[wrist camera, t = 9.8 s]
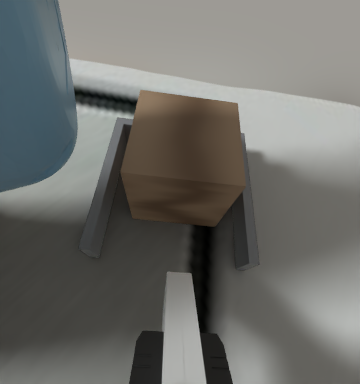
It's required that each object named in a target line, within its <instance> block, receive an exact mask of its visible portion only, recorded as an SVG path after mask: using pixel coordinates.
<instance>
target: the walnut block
mask: <svg viewBox="0 0 360 384" xmlns="http://www.w3.org/2000/svg"><path fill="white" fill-rule="evenodd" d="M120 173H121V177H122V181H123V185H124V188H125V192H126V196H127V200H128V204H129V207H130V211H131V215H132V219H142V220H152V221H162V222H172V223H182V224H192V225H202V226H212V227H215V226H216V225H217V224H218V222H219V221H220V220H221V218H222V217H223V216H224V214H225V213H226V212H227V211H228V209H229V208H230V207H231V205H232V204H233V203H234V201H235V200H236V199H237V198H238V196H239V195H240V194H241V192H242V191H243V190H244V189H245V187H246V181H245V171H244V161H243V151H242V141H241V132H240V122H239V112H238V103H232V102H225V101H218V100H210V99H203V98H196V97H188V96H181V95H174V94H167V93H159V92H152V91H145V90H140V94H139V98H138V103H137V107H136V111H135V115H134V119H133V123H132V127H131V131H130V135H129V139H128V143H127V147H126V151H125V155H124V159H123V163H122V167H121V171H120Z"/></svg>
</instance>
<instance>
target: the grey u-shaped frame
mask: <svg viewBox="0 0 360 384" xmlns="http://www.w3.org/2000/svg"><path fill="white" fill-rule="evenodd" d="M132 123H133V119H126V118H118V117H117V120H116V123H115V127H114V130H113V133H112V137H111V140H110V143H109V147H108V150H107V154H106V157H105V160H104V164H103V167H102V170H101V174H100V177H99V180H98V184H97V187H96V190H95V194H94V197H93V200H92V204H91V207H90V210H89V214H88V217H87V221H86V224H85V227H84V231H83V234H82V237H81V241H80V244H79V247H78V249H80V250H81V251H82V252H84V253H85V254H86V255H88V256H89V257H97V258H99V256H100V252H101V248H102V244H103V240H104V235H105V231H106V227H107V223H108V219H109V215H110V211H111V207H112V203H113V199H114V195H115V191H116V186H117V182H118V178H119V174H120V170H121V166H122V162H123V158H124V154H125V150H126V146H127V143H128V139H129V135H130V131H131V127H132ZM241 141H242V151H243V161H244V171H245V181H246V187H245V189H244V190H243V191H242V192H241V194H240V195H239V196H238V198H237V199H236V200H235V201H234V203H233V204H232V214H233V230H234V246H235V261H236V269H239V270H246V269H249V268H251V267H254V266H256V265H259V255H258V247H257V238H256V230H255V221H254V213H253V204H252V196H251V187H250V179H249V170H248V161H247V153H246V144H245V136H244V133H241Z"/></svg>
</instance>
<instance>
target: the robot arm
mask: <svg viewBox="0 0 360 384" xmlns="http://www.w3.org/2000/svg"><path fill="white" fill-rule="evenodd" d="M77 129H78V127H77V111H76V103H75V95H74V88H73V81H72V75H71V69H70V63H69V57H68V51H67V45H66V40H65V34H64V29H63V24H62V19H61V13H60V8H59V3H58V0H0V192H4V191H8V190H12V189H16V188H19V187H23V186H27V185H31V184H34V183H37V182H40V181H42V180H44V179H46V178H48V177H50V176H52V175H53V174H54V173H56V172H57V171H58V170H59V169H61V168H62V167H63V166H64V164H65V163H66V162H67V161H68V159H69V158H70V156H71V154H72V152H73V150H74V147H75V144H76V139H77ZM129 384H233V382H232V378H231V374H230V371H229V366H228V361H227V359H226V353H225V349H224V345H223V343H222V342H221V340H220V338H219V337H218V335H217V334H210V333H199V325H198V318H197V311H196V303H195V296H194V289H193V281H192V274H191V273H181V272H167V277H166V286H165V295H164V304H163V319H162V332H160V331H142V333H141V334H140V336H139V338H138V339H137V341H136V347H135V353H134V359H133V364H132V370H131V376H130V382H129Z"/></svg>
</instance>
